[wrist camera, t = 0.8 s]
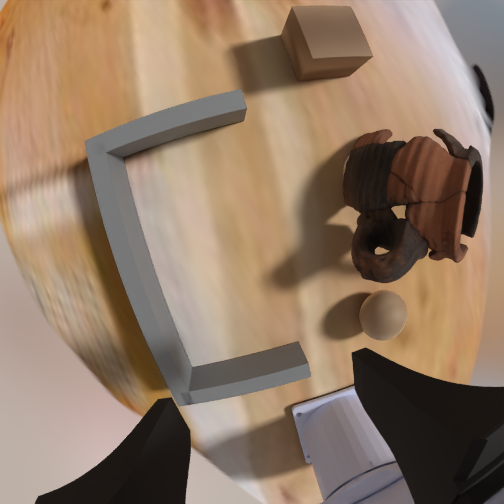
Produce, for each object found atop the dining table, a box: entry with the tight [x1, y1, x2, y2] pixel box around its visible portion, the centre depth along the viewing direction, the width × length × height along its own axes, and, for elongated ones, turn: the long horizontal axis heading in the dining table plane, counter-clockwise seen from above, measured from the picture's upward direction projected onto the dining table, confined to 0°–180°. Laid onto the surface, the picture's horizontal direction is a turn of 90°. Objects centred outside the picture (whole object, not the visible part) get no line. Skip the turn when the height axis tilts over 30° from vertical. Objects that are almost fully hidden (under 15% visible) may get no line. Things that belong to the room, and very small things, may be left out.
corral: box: [85, 89, 311, 406], centre depth 17 cm, size 18×9×3 cm, turn 15°
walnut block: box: [281, 6, 373, 81], centre depth 15 cm, size 4×4×4 cm
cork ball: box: [359, 290, 407, 340], centre depth 19 cm, size 4×4×4 cm
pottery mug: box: [343, 129, 483, 283], centre depth 17 cm, size 12×9×8 cm
